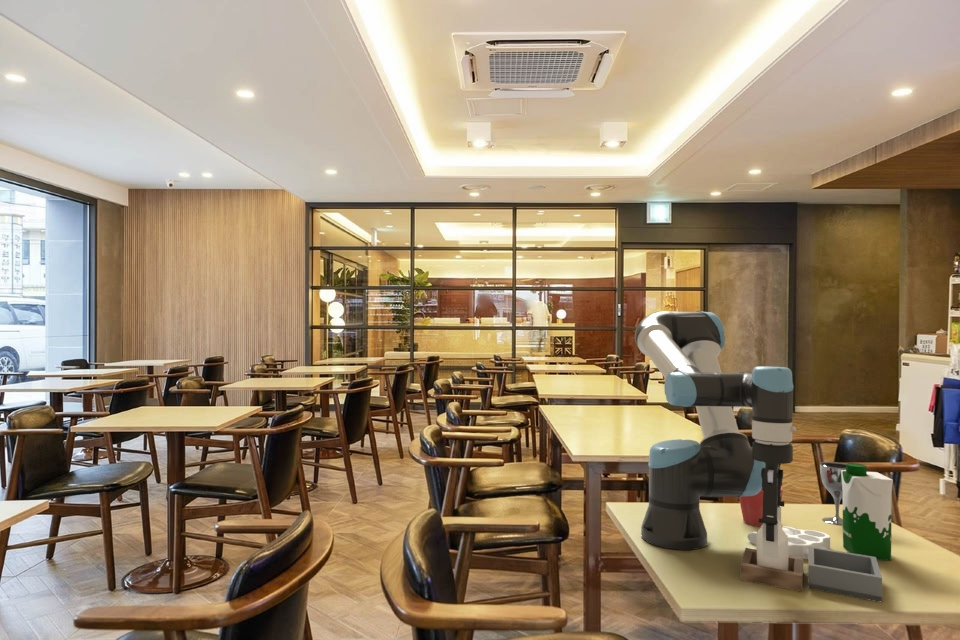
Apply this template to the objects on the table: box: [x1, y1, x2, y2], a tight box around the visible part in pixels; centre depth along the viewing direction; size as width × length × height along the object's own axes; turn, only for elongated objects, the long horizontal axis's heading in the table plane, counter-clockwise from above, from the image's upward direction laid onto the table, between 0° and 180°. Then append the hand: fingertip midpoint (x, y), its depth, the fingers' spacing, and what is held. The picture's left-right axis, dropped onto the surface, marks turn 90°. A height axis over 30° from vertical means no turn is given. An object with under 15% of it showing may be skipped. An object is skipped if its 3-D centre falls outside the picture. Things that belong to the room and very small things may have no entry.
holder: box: [739, 547, 804, 593], centre depth 122 cm, size 11×11×3 cm
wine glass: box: [819, 461, 847, 527], centre depth 158 cm, size 8×8×15 cm
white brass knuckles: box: [747, 525, 831, 560], centre depth 138 cm, size 3×18×15 cm
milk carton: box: [841, 462, 894, 562], centre depth 135 cm, size 9×9×20 cm
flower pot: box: [738, 487, 784, 528], centre depth 156 cm, size 11×11×10 cm
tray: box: [807, 546, 883, 602], centre depth 118 cm, size 12×12×4 cm
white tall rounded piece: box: [755, 516, 789, 571], centre depth 122 cm, size 6×12×6 cm
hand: (772, 546), depth 122 cm, fingers open, 12 cm apart
